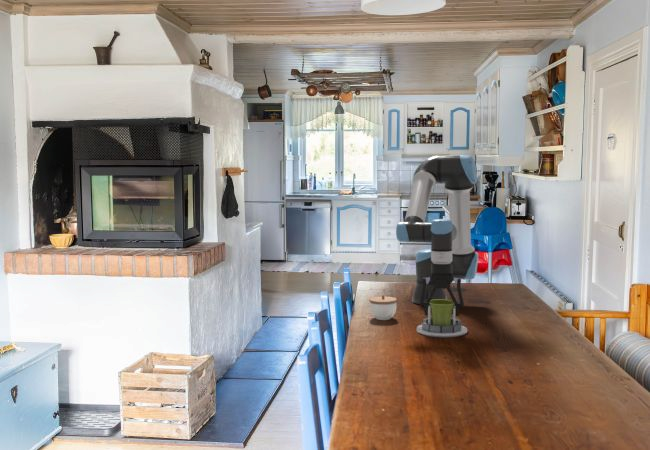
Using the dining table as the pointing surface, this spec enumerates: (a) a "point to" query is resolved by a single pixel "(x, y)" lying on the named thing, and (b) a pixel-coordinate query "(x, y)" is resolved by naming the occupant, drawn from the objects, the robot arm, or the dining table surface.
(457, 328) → the hub
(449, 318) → the plant pot
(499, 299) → the dining table surface
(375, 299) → the lidded jar
